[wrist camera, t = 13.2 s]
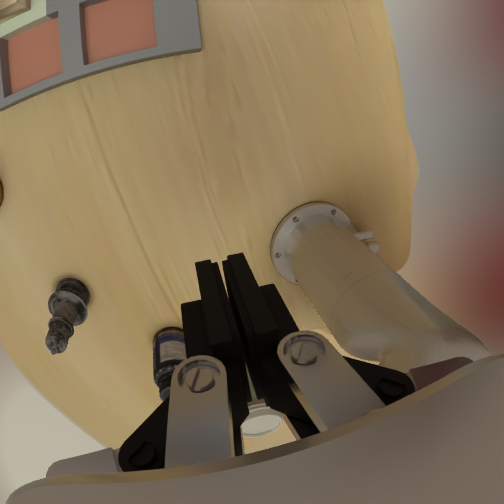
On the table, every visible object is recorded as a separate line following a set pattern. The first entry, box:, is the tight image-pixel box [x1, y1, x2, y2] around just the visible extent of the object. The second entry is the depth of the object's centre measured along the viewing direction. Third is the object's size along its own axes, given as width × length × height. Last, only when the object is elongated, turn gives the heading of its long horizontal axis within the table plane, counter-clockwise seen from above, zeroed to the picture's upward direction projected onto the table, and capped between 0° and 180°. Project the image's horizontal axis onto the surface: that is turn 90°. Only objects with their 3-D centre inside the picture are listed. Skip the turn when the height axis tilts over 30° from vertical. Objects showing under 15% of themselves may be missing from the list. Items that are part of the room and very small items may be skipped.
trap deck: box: [0, 0, 202, 111], centre depth 20 cm, size 25×18×6 cm
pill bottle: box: [153, 328, 187, 401], centre depth 41 cm, size 6×6×11 cm
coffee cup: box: [241, 366, 283, 438], centre depth 49 cm, size 9×9×12 cm
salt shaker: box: [46, 278, 90, 355], centre depth 33 cm, size 6×6×12 cm
